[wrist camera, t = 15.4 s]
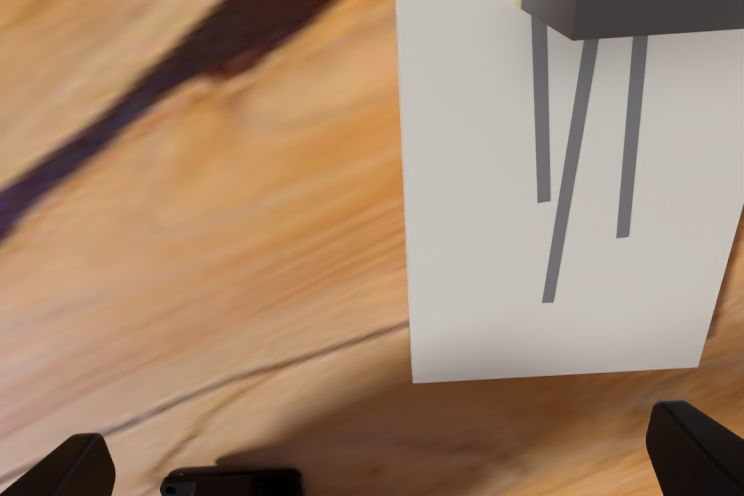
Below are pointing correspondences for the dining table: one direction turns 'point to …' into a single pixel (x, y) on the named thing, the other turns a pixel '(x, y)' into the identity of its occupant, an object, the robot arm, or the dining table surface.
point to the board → (563, 192)
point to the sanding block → (634, 16)
